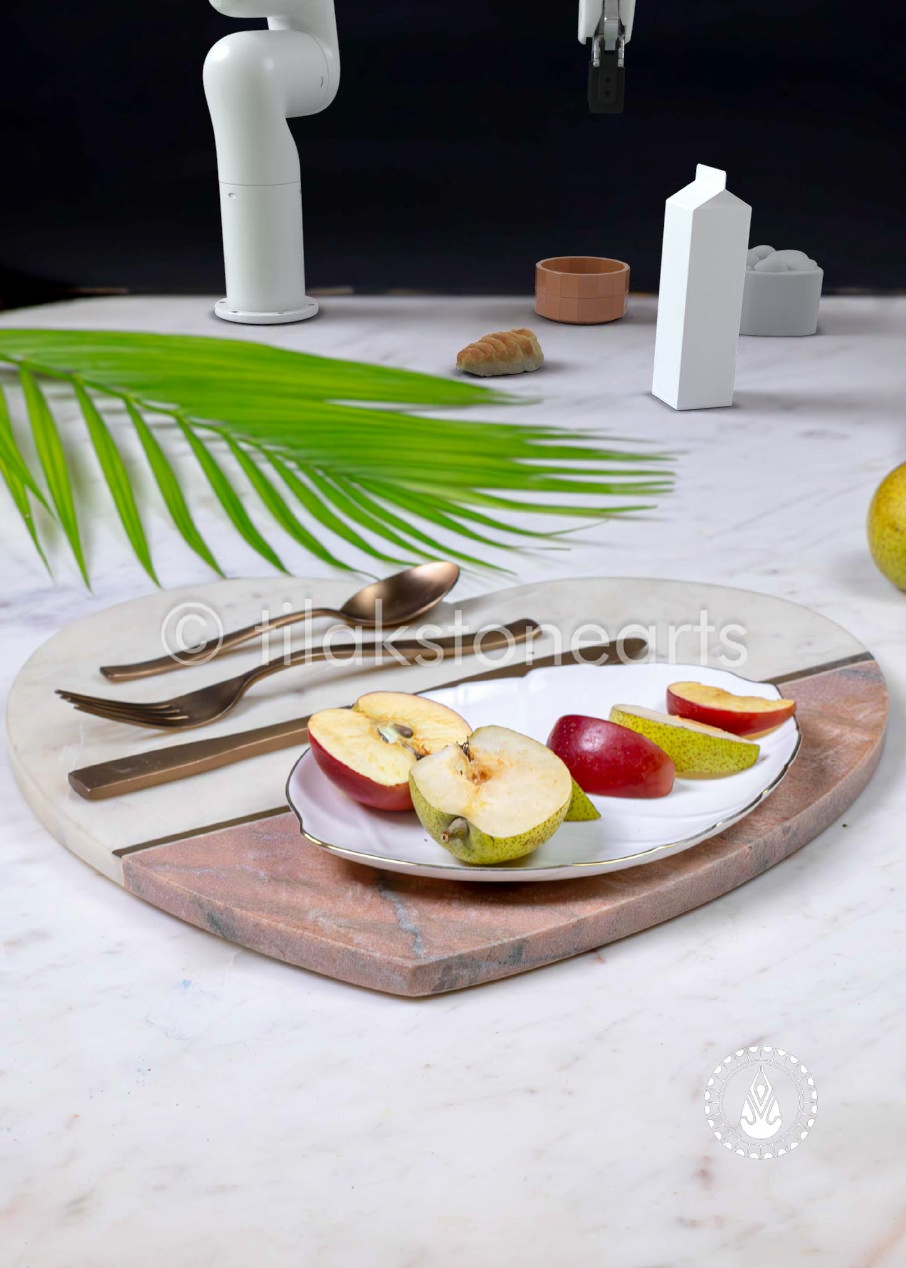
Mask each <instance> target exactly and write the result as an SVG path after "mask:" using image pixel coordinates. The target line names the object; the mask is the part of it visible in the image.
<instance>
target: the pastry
mask: <svg viewBox="0 0 906 1268" xmlns="http://www.w3.org/2000/svg"><path fill="white" fill-rule="evenodd" d="M544 361H545V354H544V353H543V350H542V346H541V345H540V343H539V341H538V337H537V335H536V334H535V333H534V332H533V331H531V330H529V329H527V328H524V327H523V328H518V329H515V328H511V329H510V331H498V332H493V333H488V334H486V335H484V336H482V337H481V339H479V340H478V341H476V342H472V343H470V344H468V345H467V346H466V347H465V348H462V350H460V351H459V352H458V353H457V355H456V364H455V369H459V370H462V371H464V372H467V373H468V372H469V373H471V374H475V375H478V376H480V377H484V376H485V377H492V376H503V375H508V374H510V375H515V374H520V373H523V372H524V371H527V372H534V371H536V370H537V369H539V368H540V367H541V365H542V364H543V363H544Z"/></svg>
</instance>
